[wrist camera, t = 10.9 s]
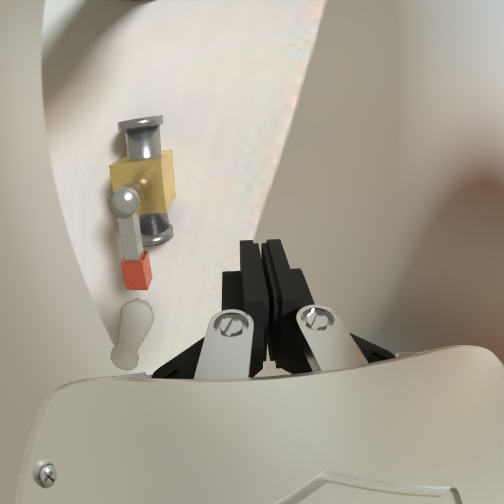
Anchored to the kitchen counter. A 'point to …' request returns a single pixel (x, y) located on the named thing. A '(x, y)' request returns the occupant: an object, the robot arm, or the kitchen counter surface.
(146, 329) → the salt shaker
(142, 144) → the valve pipe
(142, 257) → the valve lever
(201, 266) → the kitchen counter surface
